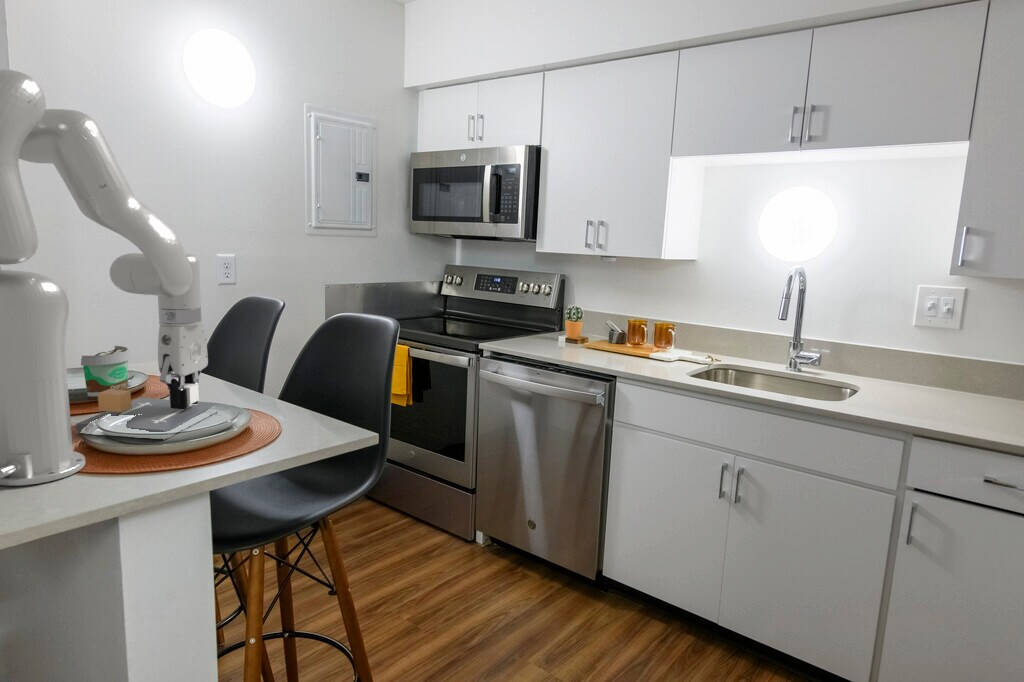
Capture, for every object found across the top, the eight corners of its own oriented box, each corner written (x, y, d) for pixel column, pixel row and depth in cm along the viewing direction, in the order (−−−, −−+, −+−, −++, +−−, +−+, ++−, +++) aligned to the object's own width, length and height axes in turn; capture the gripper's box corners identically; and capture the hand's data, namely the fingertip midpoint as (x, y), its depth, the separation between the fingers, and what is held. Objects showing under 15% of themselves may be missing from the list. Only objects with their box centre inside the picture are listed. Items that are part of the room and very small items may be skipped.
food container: (111, 402, 139) (108, 357, 137) (83, 401, 139) (80, 356, 137) (145, 388, 151) (142, 346, 149) (119, 386, 151) (116, 345, 149)
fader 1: (121, 418, 122) (119, 394, 121) (99, 416, 122) (97, 393, 122) (131, 413, 125) (130, 390, 124) (110, 412, 125) (108, 389, 125)
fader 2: (190, 410, 129) (189, 387, 128) (169, 408, 129) (168, 386, 129) (199, 405, 132) (198, 384, 131) (178, 404, 132) (177, 382, 132)
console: (164, 440, 118) (163, 429, 118) (77, 433, 120) (76, 422, 119) (217, 412, 136) (217, 402, 135) (141, 406, 137) (140, 397, 137)
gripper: (173, 323, 119) (177, 419, 122) (220, 311, 135) (223, 396, 138) (134, 321, 120) (140, 416, 123) (186, 309, 136) (190, 394, 139)
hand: (184, 405), depth 131 cm, fingers closed on fader 2, 3 cm apart
